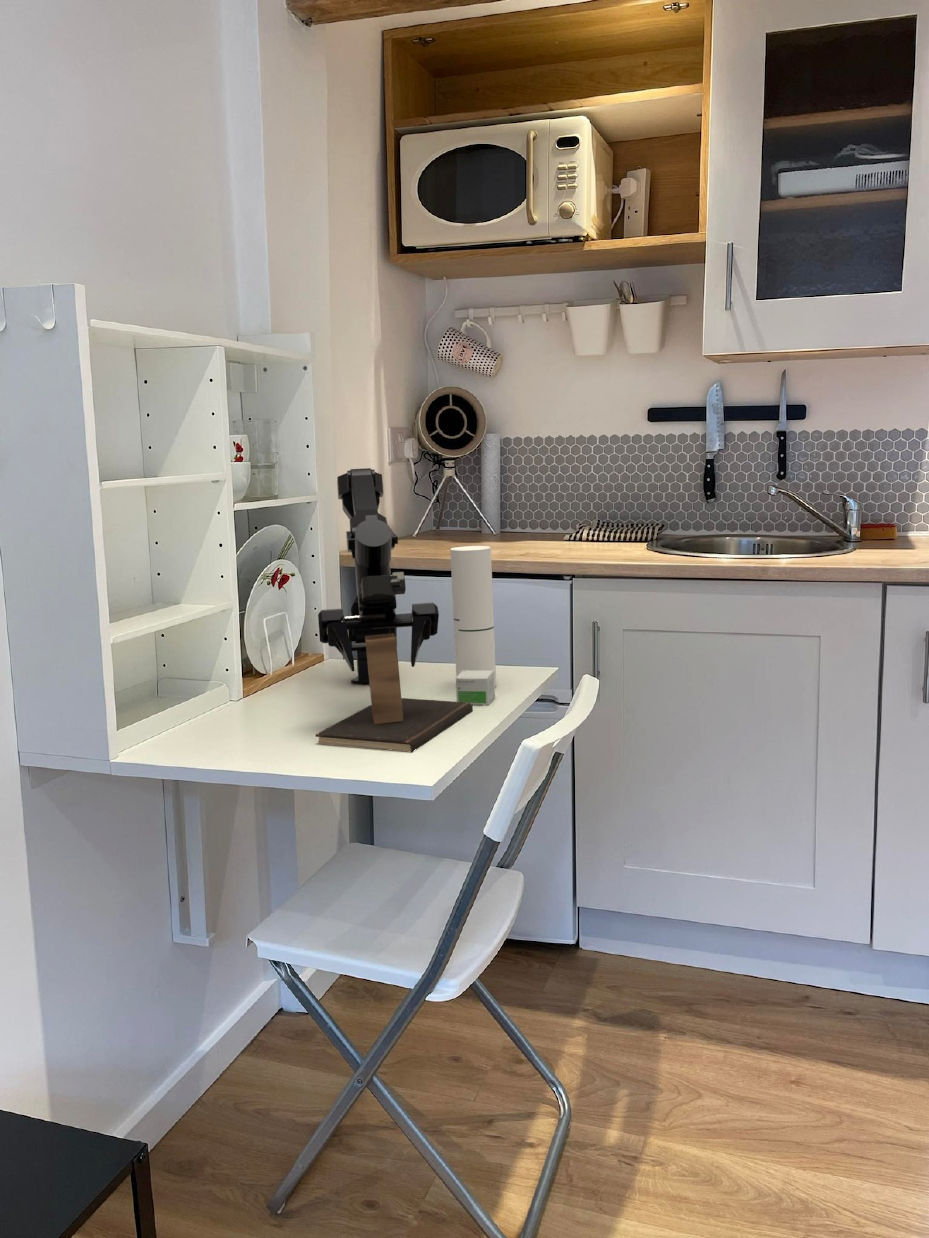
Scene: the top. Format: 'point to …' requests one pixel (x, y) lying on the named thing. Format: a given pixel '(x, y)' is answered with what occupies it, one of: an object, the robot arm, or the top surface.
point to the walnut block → (384, 678)
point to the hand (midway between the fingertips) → (383, 667)
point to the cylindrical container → (473, 608)
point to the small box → (475, 687)
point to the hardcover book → (396, 726)
